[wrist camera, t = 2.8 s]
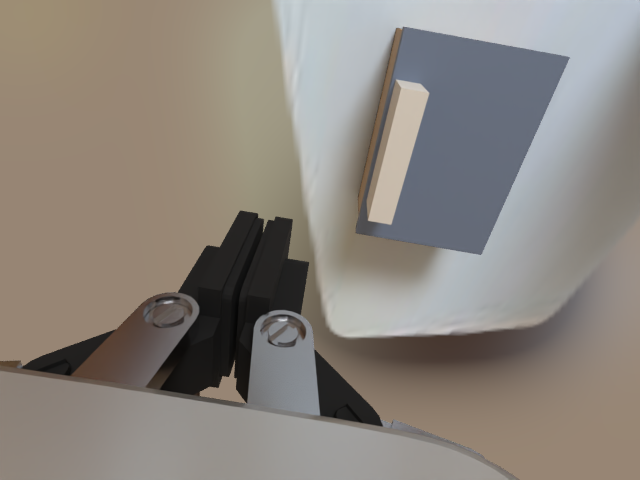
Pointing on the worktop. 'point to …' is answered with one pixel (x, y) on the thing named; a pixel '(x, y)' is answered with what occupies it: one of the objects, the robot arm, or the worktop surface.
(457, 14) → the worktop surface
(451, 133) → the cabinet door panel
